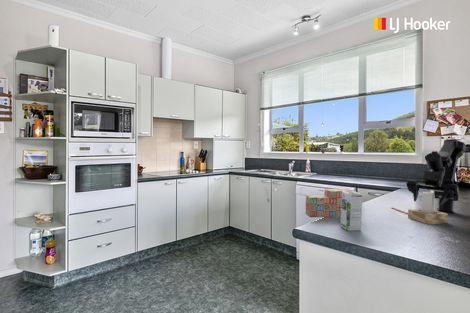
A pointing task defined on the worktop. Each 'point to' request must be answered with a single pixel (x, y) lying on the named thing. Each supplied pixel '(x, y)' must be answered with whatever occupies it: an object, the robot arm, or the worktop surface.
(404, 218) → the worktop surface
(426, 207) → the white rectangular block
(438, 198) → the robot arm
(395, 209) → the red square stick
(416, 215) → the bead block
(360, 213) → the syrup box
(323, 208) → the stack of blocks
